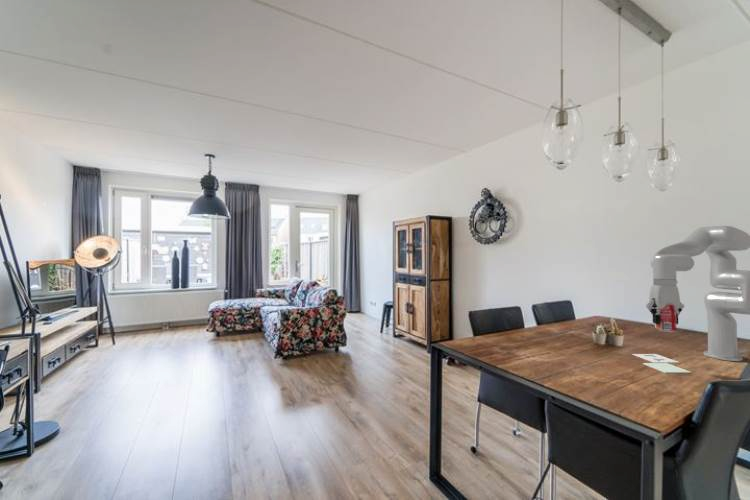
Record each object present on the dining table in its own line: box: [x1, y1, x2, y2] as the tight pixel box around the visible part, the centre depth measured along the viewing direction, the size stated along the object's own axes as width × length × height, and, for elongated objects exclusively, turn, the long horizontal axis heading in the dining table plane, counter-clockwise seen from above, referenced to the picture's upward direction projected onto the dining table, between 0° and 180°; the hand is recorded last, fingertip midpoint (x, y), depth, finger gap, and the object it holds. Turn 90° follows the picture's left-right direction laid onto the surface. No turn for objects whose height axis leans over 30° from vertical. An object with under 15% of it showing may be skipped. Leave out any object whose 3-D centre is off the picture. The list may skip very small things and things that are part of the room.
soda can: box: [654, 304, 677, 333], centre depth 138 cm, size 7×7×12 cm
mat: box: [642, 362, 692, 374], centre depth 137 cm, size 11×11×1 cm
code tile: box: [631, 353, 680, 364], centre depth 150 cm, size 12×12×1 cm
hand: (665, 323), depth 138 cm, fingers closed on soda can, 7 cm apart
